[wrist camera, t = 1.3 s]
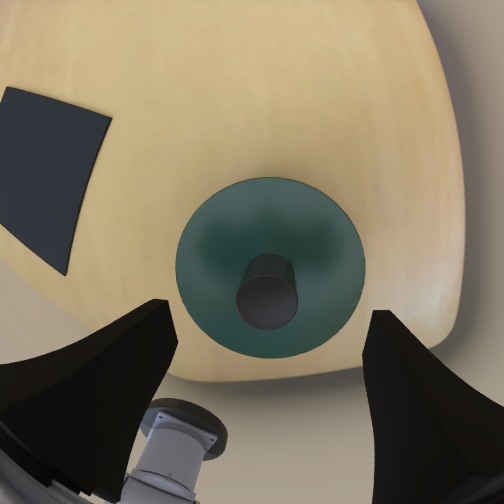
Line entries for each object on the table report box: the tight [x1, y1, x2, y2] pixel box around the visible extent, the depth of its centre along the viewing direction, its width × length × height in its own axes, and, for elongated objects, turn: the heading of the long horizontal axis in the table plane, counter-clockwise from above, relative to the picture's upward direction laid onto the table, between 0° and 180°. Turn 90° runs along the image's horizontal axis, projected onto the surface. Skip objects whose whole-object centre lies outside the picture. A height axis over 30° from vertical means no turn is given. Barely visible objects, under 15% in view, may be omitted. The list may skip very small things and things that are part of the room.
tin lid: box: [175, 177, 365, 359], centre depth 13 cm, size 10×10×4 cm
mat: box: [0, 87, 112, 276], centre depth 21 cm, size 16×21×1 cm
